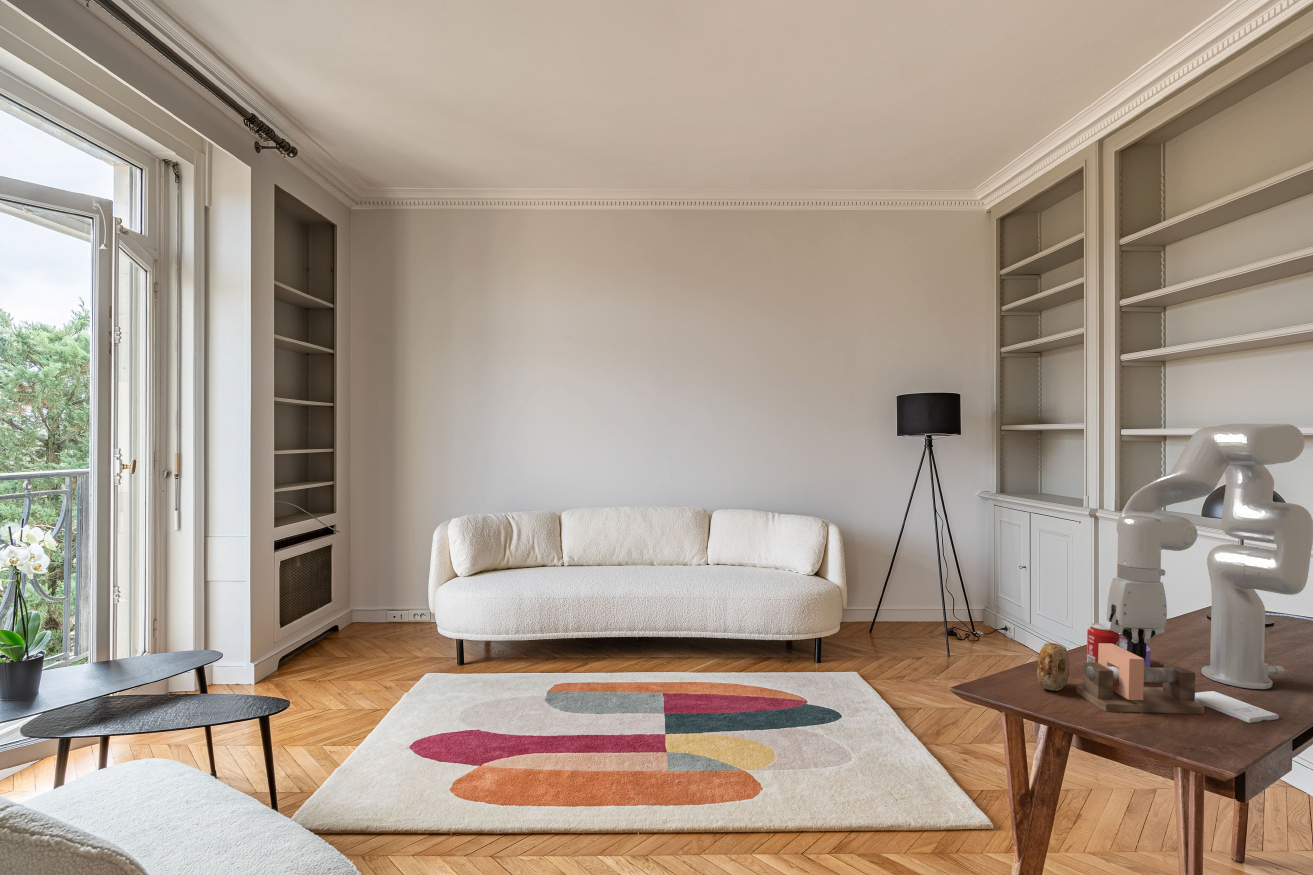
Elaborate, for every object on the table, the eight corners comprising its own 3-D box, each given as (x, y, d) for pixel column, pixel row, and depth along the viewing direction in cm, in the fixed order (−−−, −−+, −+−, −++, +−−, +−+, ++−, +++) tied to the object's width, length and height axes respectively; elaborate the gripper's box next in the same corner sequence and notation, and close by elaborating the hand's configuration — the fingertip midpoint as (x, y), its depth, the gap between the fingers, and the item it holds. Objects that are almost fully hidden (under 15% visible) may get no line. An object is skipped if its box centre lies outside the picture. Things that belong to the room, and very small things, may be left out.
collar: (1111, 681, 148) (1112, 643, 148) (1143, 700, 138) (1144, 658, 138) (1097, 681, 149) (1098, 643, 148) (1128, 699, 139) (1129, 658, 138)
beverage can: (1123, 683, 155) (1124, 631, 155) (1093, 680, 156) (1094, 629, 156) (1110, 673, 161) (1112, 623, 161) (1081, 671, 162) (1083, 621, 162)
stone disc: (1051, 696, 146) (1052, 650, 146) (1033, 691, 149) (1034, 646, 149) (1072, 686, 152) (1073, 642, 152) (1055, 681, 155) (1056, 638, 155)
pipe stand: (1168, 694, 148) (1168, 659, 148) (1204, 713, 138) (1204, 676, 138) (1076, 692, 149) (1077, 657, 149) (1105, 711, 139) (1106, 674, 139)
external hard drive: (1214, 697, 148) (1279, 721, 136) (1185, 701, 146) (1248, 725, 134) (1214, 690, 148) (1279, 713, 136) (1186, 693, 146) (1249, 717, 134)
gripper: (1161, 571, 147) (1159, 654, 147) (1091, 569, 147) (1089, 653, 147) (1187, 578, 139) (1185, 667, 139) (1114, 577, 140) (1112, 665, 140)
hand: (1136, 659), depth 143 cm, fingers closed
